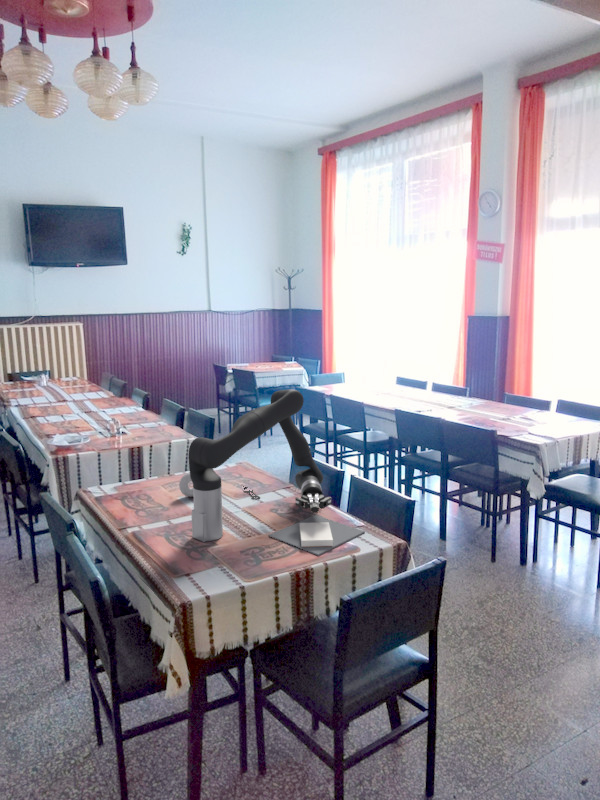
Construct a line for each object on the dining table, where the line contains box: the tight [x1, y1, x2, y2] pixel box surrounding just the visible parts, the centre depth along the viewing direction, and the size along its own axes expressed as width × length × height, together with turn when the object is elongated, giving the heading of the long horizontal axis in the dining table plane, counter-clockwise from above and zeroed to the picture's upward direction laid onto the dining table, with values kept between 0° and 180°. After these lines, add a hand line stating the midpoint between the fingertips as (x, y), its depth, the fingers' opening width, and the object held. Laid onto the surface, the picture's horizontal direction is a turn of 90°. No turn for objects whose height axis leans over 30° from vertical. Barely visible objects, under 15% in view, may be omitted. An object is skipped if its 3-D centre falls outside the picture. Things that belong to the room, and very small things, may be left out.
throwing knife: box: [243, 486, 261, 500], centre depth 245 cm, size 4×20×1 cm, turn 23°
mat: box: [267, 514, 366, 557], centre depth 203 cm, size 24×22×1 cm
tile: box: [299, 522, 333, 547], centre depth 199 cm, size 2×10×14 cm
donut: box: [178, 471, 193, 498], centre depth 239 cm, size 10×4×10 cm, turn 119°
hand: (315, 510), depth 200 cm, fingers closed
